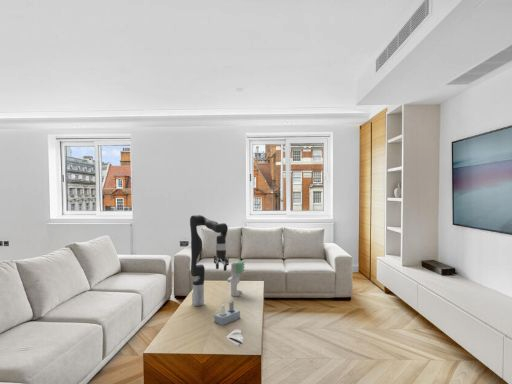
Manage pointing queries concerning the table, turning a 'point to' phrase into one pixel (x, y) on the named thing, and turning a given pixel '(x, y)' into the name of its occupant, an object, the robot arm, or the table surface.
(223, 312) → the cream peg
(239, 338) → the cloth
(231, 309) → the grey peg
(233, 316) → the hole block
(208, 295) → the table surface
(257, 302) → the table surface
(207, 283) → the table surface
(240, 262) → the toy
